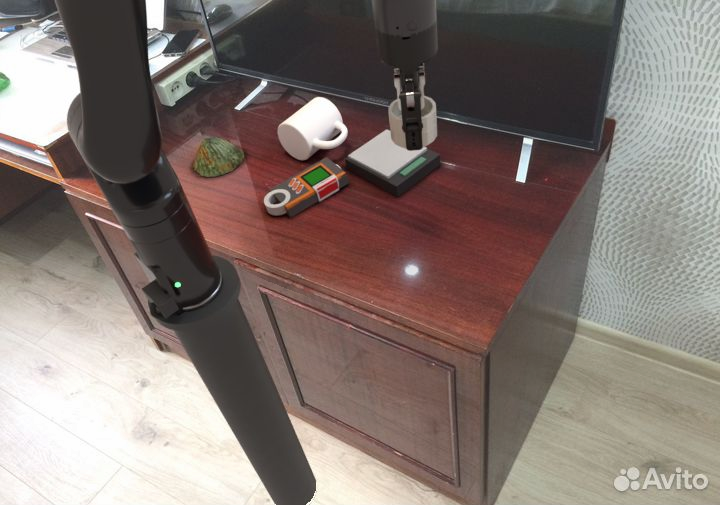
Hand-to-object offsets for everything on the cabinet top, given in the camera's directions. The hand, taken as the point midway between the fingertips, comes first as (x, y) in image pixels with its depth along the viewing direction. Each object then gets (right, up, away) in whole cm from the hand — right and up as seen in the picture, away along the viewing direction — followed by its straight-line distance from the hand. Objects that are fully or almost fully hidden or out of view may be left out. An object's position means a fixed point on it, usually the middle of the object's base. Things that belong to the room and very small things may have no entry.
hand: (413, 133), depth 83 cm
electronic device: (-17, -7, +22) cm, 29 cm away
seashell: (-35, +1, +33) cm, 48 cm away
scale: (-2, -1, +24) cm, 24 cm away
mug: (-15, +3, +31) cm, 34 cm away
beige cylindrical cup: (0, 0, +1) cm, 1 cm away
